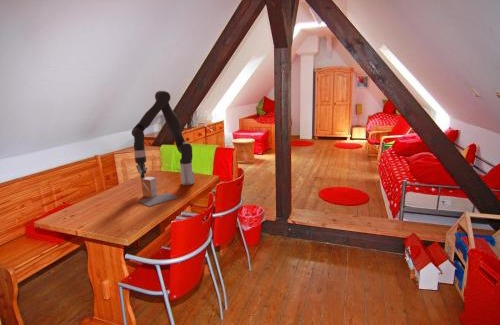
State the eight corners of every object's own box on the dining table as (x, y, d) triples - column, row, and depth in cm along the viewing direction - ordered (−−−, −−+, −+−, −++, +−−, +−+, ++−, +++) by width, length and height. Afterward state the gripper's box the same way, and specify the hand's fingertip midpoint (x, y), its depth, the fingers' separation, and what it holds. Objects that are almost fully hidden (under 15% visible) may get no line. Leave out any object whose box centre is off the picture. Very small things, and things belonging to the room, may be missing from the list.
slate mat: (167, 193, 223) (167, 192, 222) (178, 197, 213) (178, 197, 213) (139, 201, 208) (138, 200, 208) (148, 206, 198) (148, 206, 198)
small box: (142, 196, 218) (140, 178, 215) (148, 193, 223) (147, 176, 220) (151, 197, 215) (150, 180, 211) (157, 194, 220) (156, 177, 217)
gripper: (149, 156, 217) (151, 179, 221) (141, 153, 226) (143, 176, 230) (139, 158, 212) (141, 181, 216) (131, 155, 221) (133, 178, 225)
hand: (142, 178), depth 223 cm, fingers closed
